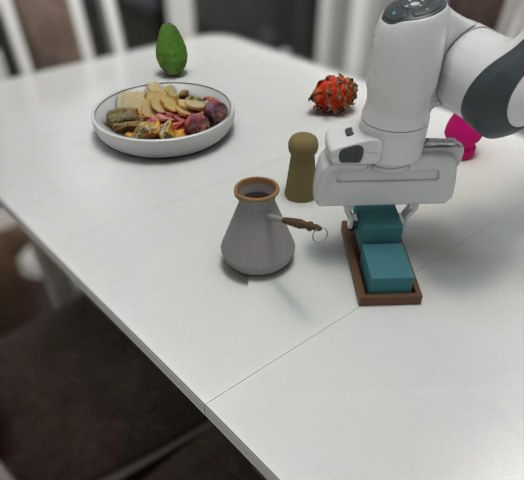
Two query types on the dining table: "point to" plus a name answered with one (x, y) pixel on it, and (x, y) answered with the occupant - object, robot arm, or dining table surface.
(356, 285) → the brown wooden tray
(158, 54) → the avocado
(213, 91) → the bowl
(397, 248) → the teal block
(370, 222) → the loose pad
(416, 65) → the robot arm
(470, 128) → the pepper mill
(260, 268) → the coffee pot
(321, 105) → the dragon fruit
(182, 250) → the dining table surface
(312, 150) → the olive peg doll
